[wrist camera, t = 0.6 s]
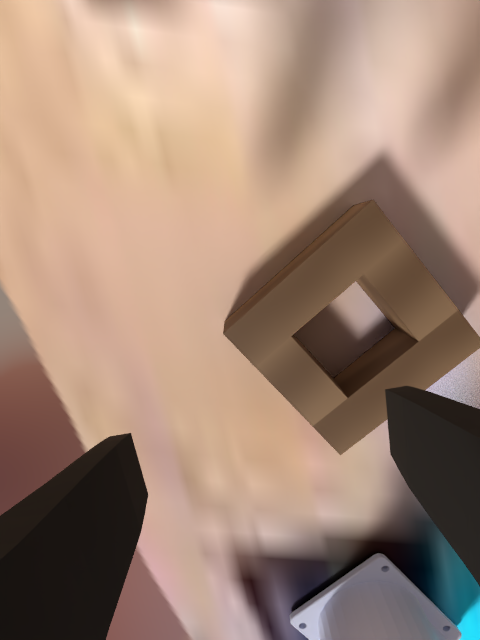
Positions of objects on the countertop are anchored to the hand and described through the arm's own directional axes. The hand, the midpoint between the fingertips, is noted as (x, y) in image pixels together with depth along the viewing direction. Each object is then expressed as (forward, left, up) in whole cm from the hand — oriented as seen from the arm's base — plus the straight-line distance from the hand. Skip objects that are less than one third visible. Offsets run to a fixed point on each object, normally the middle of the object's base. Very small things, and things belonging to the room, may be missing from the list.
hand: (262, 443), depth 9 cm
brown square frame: (-3, -4, -10) cm, 11 cm away
